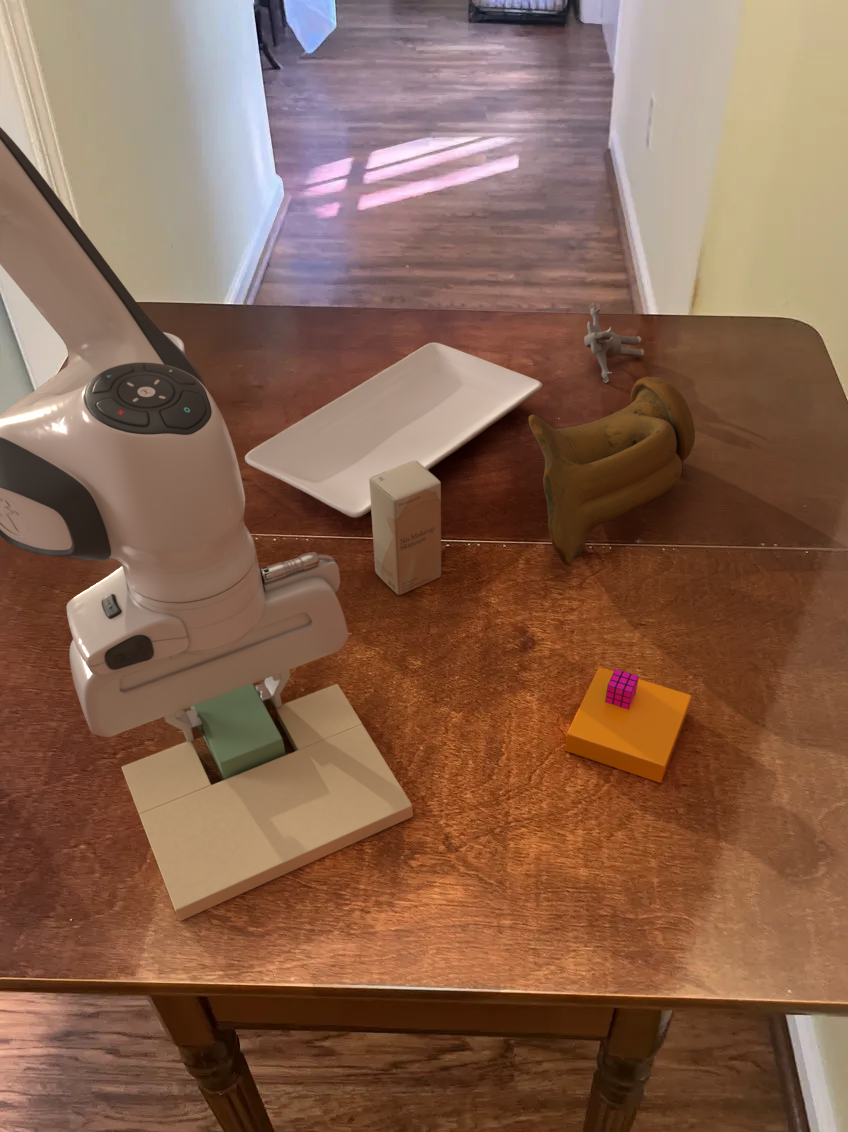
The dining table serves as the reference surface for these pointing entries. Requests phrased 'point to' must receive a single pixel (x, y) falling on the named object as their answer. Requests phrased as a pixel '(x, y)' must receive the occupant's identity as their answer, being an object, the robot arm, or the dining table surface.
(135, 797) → the beige notched block
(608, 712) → the orange square pedestal
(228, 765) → the pad
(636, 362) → the dining table surface
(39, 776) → the dining table surface
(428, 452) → the tray
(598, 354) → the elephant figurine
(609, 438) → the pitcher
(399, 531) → the box
